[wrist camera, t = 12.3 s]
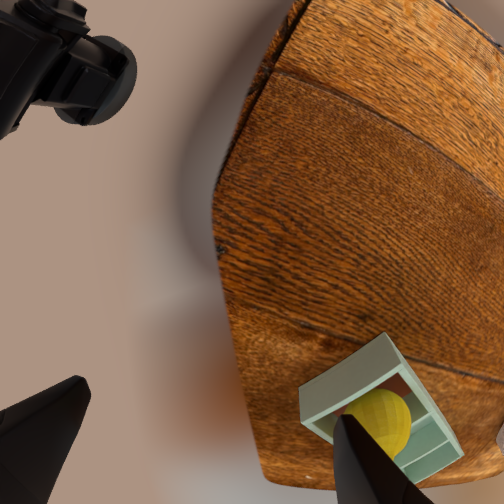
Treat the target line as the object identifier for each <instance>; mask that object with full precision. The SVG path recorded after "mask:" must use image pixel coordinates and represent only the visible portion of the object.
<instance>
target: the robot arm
mask: <svg viewBox="0 0 504 504" xmlns="http://www.w3.org/2000/svg"><path fill="white" fill-rule="evenodd" d="M86 11H87V9H86V8H85V7H84V6H82V5H80V4H79V3H77V2H76V1H74V0H0V140H1V139H3V138H4V137H5V136H7V135H8V134H9V133H11V132H14V131H16V130H17V128H18V126H19V122H20V120H21V119H22V117H23V115H24V114H25V112H26V110H27V109H28V107H29V106H30V104H31V105H40V106H49V107H57V108H60V109H61V110H62V111H63V112H65V113H66V114H67V115H68V116H70V117H71V118H72V119H73V120H74V121H76V122H77V123H78V124H79V125H81V126H87V125H89V123H90V122H91V120H92V118H93V117H94V115H95V113H96V112H97V110H98V108H100V106H101V105H102V103H103V101H104V100H105V98H106V97H107V95H108V94H109V92H110V91H111V89H112V88H113V86H114V85H115V84H116V81H117V80H118V78H119V77H120V76H121V74H122V73H123V71H124V70H125V69H126V67H127V66H128V65H129V63H130V59H129V58H128V57H127V56H125V55H123V54H122V53H120V52H118V51H116V50H115V49H113V48H111V47H109V46H107V45H106V44H104V43H102V42H100V41H98V40H96V39H94V38H93V37H91V36H89V35H86V34H87V33H88V32H89V31H90V28H89V27H88V26H87V25H86V22H85V15H86ZM85 39H86V40H85ZM123 60H125V61H124V63H123V64H122V61H123ZM85 118H86V120H85V122H84V119H85ZM90 399H91V391H90V389H89V386H88V384H87V381H86V379H85V378H84V377H81V376H78V375H74V376H72V377H70V378H68V379H66V380H64V381H62V382H60V383H58V384H56V385H54V386H52V387H50V388H48V389H46V390H44V391H42V392H39V393H37V394H35V395H33V396H31V397H29V398H27V399H25V400H23V401H21V402H19V403H16V404H14V405H12V406H10V407H8V408H6V409H4V410H2V411H0V504H47V502H48V499H49V497H50V494H51V492H52V490H53V487H54V485H55V482H56V479H57V477H58V475H59V473H60V470H61V468H62V466H63V464H64V462H65V459H66V457H67V455H68V453H69V451H70V448H71V446H72V444H73V442H74V440H75V438H76V436H77V434H78V431H79V429H80V427H81V424H82V421H83V418H84V416H85V413H86V410H87V407H88V404H89V402H90ZM333 455H334V478H335V485H336V492H337V499H338V504H434V503H433V502H432V501H431V500H430V499H429V498H427V497H426V496H425V495H424V494H423V493H422V492H421V491H420V490H419V489H418V488H417V487H416V486H415V485H414V484H413V482H412V481H411V480H409V478H408V477H407V476H406V475H405V474H404V473H403V472H402V470H401V469H400V468H399V467H398V466H397V465H396V464H395V463H394V461H393V460H392V459H391V458H390V457H389V456H388V455H387V454H386V452H385V451H384V450H383V449H382V448H381V447H380V446H379V444H378V443H377V442H376V441H375V440H374V439H373V438H372V436H371V435H370V434H369V433H368V432H367V431H366V429H365V428H364V427H363V426H362V425H361V424H360V423H359V421H358V420H357V419H356V418H355V417H354V416H353V415H352V414H341V415H340V416H339V417H338V420H337V422H336V425H335V427H334V430H333Z"/></svg>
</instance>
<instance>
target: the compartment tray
mask: <svg viewBox="0 0 504 504" xmlns="http://www.w3.org/2000/svg"><path fill="white" fill-rule="evenodd" d="M373 388H374V389H375V388H383V389H386V390H390V391H392V392H394V393H395V394H397V395H398V396H400V397H401V398H402V399H403V400H404V401H405V403H406V405H407V406H408V409H409V411H410V415H411V431H410V437H409V439H408V442H407V444H406V446H405V447H404V448H403V450H402V451H400V452H399V453H398V454H397V455H396V456H395V457H394V460H393V461H394V463H395V464H396V465H397V466H398V467H399V468H400V469H401V470H402V472H403V473H404V474H405V475H406V476H407V477H408V478H409V480H411V481H412V482H413V484H416V483H418V482H420V481H422V480H424V479H426V478H428V477H429V476H431V475H433V474H435V473H436V472H438V471H440V470H442V469H443V468H445V467H447V466H448V465H450V464H451V463H453V462H455V461H456V460H458V459H459V458H461V457H462V456H464V455H465V454H464V452H463V450H462V448H461V446H460V443H459V441H458V439H457V437H456V435H455V433H454V432H453V430H452V428H451V427H450V425H449V424H448V422H447V420H446V419H445V417H444V416H443V414H442V413H441V411H440V410H439V408H438V407H437V405H436V404H435V402H434V401H433V399H432V398H431V396H430V395H429V393H428V392H427V390H426V389H425V387H424V386H423V384H422V383H421V381H420V380H419V378H418V377H417V376H416V374H415V373H414V371H413V370H412V368H411V367H410V366H409V364H408V363H407V361H406V360H405V359H404V357H403V356H402V354H401V353H400V352H399V350H398V349H397V347H396V346H395V345H394V343H393V342H392V341H391V339H390V338H389V336H388V335H387V334H386V332H383V333H382V334H380V335H379V336H377V337H376V338H375V339H373V340H372V341H370V342H369V343H368V344H366V345H365V346H363V347H362V348H360V349H359V350H358V351H356V352H355V353H353V354H352V355H350V356H349V357H347V358H346V359H344V360H343V361H341V362H340V363H338V364H336V365H335V366H333V367H332V368H330V369H329V370H327V371H325V372H324V373H322V374H320V375H319V376H317V377H315V378H314V379H312V380H310V381H309V382H307V383H305V384H304V385H302V386H300V387H299V403H300V419H301V423H302V424H303V425H304V426H306V427H307V428H309V429H310V430H312V431H313V432H314V433H316V434H317V435H319V436H320V437H322V438H323V439H325V440H326V441H328V442H329V443H331V444H332V445H333V430H334V427H335V425H336V422H337V420H338V417H339V416H340V415H341V414H344V412H345V410H346V408H347V406H348V404H349V403H350V402H351V401H353V400H354V399H356V398H358V397H360V396H361V395H363V394H365V393H366V392H368V391H369V390H371V389H373Z"/></svg>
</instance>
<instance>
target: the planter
mask: <svg viewBox="0 0 504 504" xmlns="http://www.w3.org/2000/svg"><path fill="white" fill-rule="evenodd" d="M496 442H497V444H498V446H499V448H500V450H501V452H502V454H503V456H504V422H503V425H502V427H501V429H500V431H499V432H498V435H497V438H496Z"/></svg>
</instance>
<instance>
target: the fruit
mask: <svg viewBox="0 0 504 504" xmlns="http://www.w3.org/2000/svg"><path fill="white" fill-rule="evenodd" d="M344 414H352V415H353V416H354V417H355V418H356V419H357V420H358V421H359V423H360V424H361V425H362V426H363V427H364V428H365V429H366V431H367V432H368V433H369V434H370V435H371V436H372V438H373V439H374V440H375V441H376V442H377V443H378V444H379V446H380V447H381V448H382V449H383V450H384V451H385V452H386V454H387V455H388V456H389V457H390V458H391V459H392V460H394V457H395V456H396V455H397V454H398V453H399V452H400V451H402V450H403V448H404V447H405V446H406V444H407V442H408V439H409V437H410V431H411V415H410V411H409V409H408V406H407V405H406V403H405V401H404V400H403V399H402V398H401V397H400V396H398V395H397V394H395V393H394V392H392V391H390V390H386V389H383V388H375V389H374V388H373V389H371V390H369V391H368V392H366V393H365V394H363V395H361V396H360V397H358V398H356V399H354V400H353V401H351V402H350V403H349V404H348V406H347V408H346V410H345V412H344Z"/></svg>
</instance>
